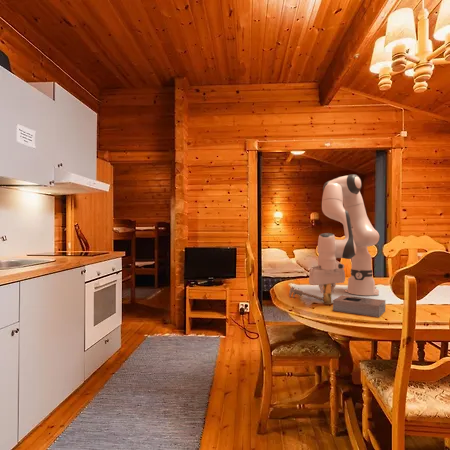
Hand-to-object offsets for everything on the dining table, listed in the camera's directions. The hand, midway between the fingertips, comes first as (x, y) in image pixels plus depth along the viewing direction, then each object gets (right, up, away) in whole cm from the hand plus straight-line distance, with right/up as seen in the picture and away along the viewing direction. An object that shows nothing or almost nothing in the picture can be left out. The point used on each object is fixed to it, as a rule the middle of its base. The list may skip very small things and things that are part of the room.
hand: (327, 292), depth 173 cm
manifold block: (+11, -6, -13) cm, 18 cm away
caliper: (-6, -7, +14) cm, 17 cm away
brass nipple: (0, -5, 0) cm, 5 cm away
